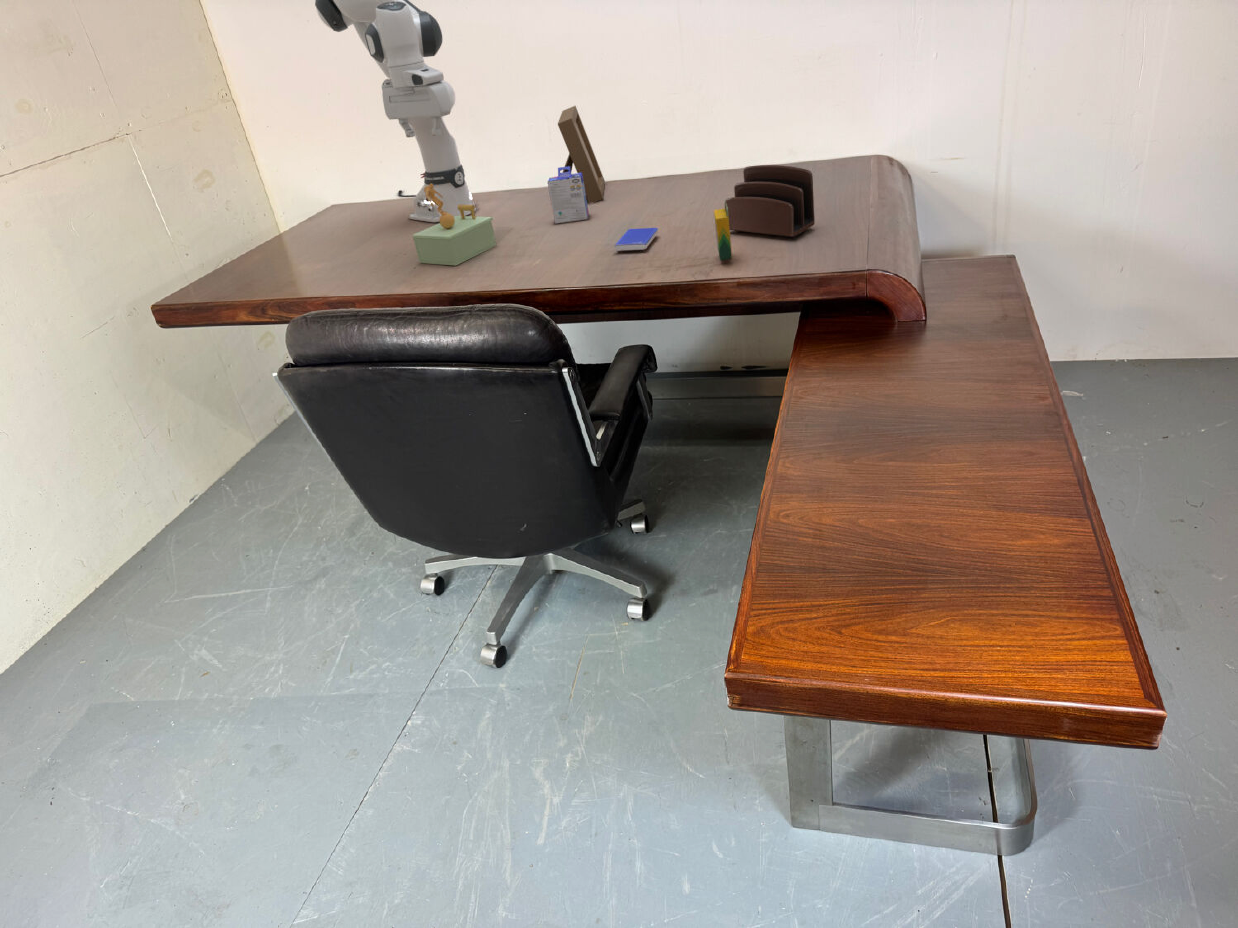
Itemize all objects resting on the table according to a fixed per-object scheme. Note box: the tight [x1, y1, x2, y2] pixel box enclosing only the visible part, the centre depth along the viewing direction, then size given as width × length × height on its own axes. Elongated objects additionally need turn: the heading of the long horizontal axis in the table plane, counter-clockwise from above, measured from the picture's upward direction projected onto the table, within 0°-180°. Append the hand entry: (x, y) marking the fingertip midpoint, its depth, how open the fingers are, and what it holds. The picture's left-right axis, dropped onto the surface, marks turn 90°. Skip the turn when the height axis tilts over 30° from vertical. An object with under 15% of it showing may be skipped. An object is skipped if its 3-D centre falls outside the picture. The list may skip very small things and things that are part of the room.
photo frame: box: [557, 105, 606, 204], centre depth 260 cm, size 15×22×25 cm
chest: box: [412, 221, 497, 266], centre depth 228 cm, size 17×14×7 cm
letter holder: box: [724, 164, 816, 238], centre depth 205 cm, size 10×20×14 cm, turn 48°
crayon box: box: [713, 200, 733, 261], centre depth 193 cm, size 7×3×12 cm, turn 178°
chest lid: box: [412, 205, 494, 240], centre depth 225 cm, size 17×14×5 cm
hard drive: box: [614, 227, 659, 251], centre depth 214 cm, size 2×8×12 cm
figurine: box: [424, 183, 455, 229], centre depth 221 cm, size 8×6×12 cm
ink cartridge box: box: [547, 166, 590, 224], centre depth 240 cm, size 10×6×14 cm, turn 89°
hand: (424, 136), depth 212 cm, fingers open, 8 cm apart
